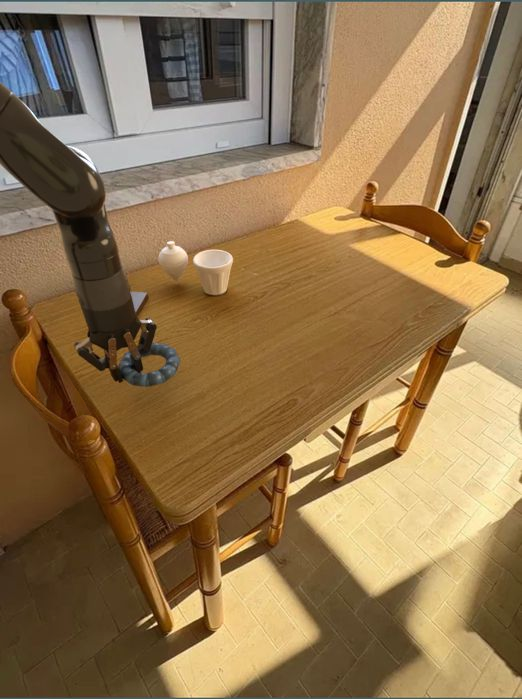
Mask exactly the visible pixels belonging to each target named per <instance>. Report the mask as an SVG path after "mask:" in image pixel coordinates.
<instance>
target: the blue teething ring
mask: <svg viewBox="0 0 522 699" xmlns="http://www.w3.org/2000/svg"><path fill="white" fill-rule="evenodd" d="M130 354H131V353H130V351H129V350H128V351H126V352H125V353H124V354H123V356H122V358H121V359H120V360H119V363H118V366H119V369H120V372H121V375H122V379H123V381H125V382H127V383H128V384H130V385H131V386H133V387H141V388H143V387H145V388H150V387H154V386H157V385H161V384H164V383H166V382H167V381H168V380H170V379H171V378H173V377H174V376H175V375H176V373H177V372H178V369H179V367H180V364H181V359H180V356H179V353H178V351H177V350H176V349H175V348H173V347H171V346H170V345H168V344H166V343H161V342H152V345H151V349H150V352H149V353H147V354H145V353H144V354H143V355H142V356H141V359H142V358H145V357H149V356H159V357H162V358H163V359H165V364H164V366H162V367H161V368H159V369H158V370H155V371H151V372H141V373H139V372H137V371H135V370H134V369H133V366H132V362H131V359H130Z"/></svg>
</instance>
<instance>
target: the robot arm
mask: <svg viewBox="0 0 522 699" xmlns="http://www.w3.org/2000/svg"><path fill="white" fill-rule="evenodd" d="M0 166H1V167H2V168H3V169H4V170H5V171H6V172H8V173H9V174H10V175H11V177H13V178H14V179H15V180H16V181H17V182H18V183H20V184H21V185H22V186H23V187H24V188H25V189H26V190H27V191H28V192H30V193H31V194H32V195H33V196H34V197H35V198H37V199H38V201H40V202H41V203H43V204H44V205H45V206H47V207H48V208H50V209H51V210H52V213H53V215H54V218H55V220H56V224H57V226H58V229H59V232H60V237H61V238H60V239H61V244H62V245H61V246H62V249H63V252H64V256H65V259H66V262H67V265H68V268H69V270H70V273H71V277H72V282H73V287H74V288H73V289H74V292H75V294H76V297H77V299H78V302H79V305H80V309H81V311H82V314H83V317H84V320H85V323H86V326H87V329H88V330H87V335H86V338H85V339H83V341H76V342H75V343H74V344H73V347H74V349H75V351H76V352H77V355H78V356H79V357H80V358H82V359H83V360H85V361H86V362H87V363H88V364H90V365H91V366H92V367H94V368H95V369H96V370H98V371H100V372H104V371H105V370H106V369H108V371H109V373H110V376H111V378H112V379H113V381H114V382H118V383H119V384H122V383H123V382H124V379H122V375H121V372H120V369H119V364H118V362H117V359H118V352H117V351H119V350H121V349H124V348H125V349H126V348H127V350H128V351H130V353H131V354H130V359H131V362H132V366H133V369H134V370H135V371H137V372H139V373H142V372H143V371H144V366H143V361H142V358H141V356H142V355H143V354H144V353H145V354H147V353H149V352H150V349H151V345H152V343H154V342H153V341H154V338H155V334H156V332H157V328H158V326H157V324H156V323H155V322H154V321H153V319H152V318H151V317H146V318H145V319H140V318H139V317H138V316H136V313H135V308H134V304H133V300H132V296H131V292H132V291H131V290H132V288H131V284H130V283H129V280H128V277H127V274H126V271H125V269H124V266H123V262H122V258H121V254H120V250H119V245H118V243H117V242H118V241H117V240H116V239H117V238H116V237H115V236H116V235H115V234H114V231H113V229H112V227H111V225H110V222H109V218H108V213H107V209H106V205H105V203H106V197H107V193H106V192H107V191H106V190H107V189H106V186H105V182H104V180H103V177H102V175H101V173H100V171H99V170H98V168H97V166H96V164H95V163H94V161H93V160H92V159H91V158H90V157H89V156H88V155H87V154H86V153H85V152H84V151H82V150H80V149H78V148H76V147H73V146H70V145H66V144H65V143H64V142H63V141H61V139H59V138H58V137H57V136H56V135H55V134H53V132H51V131H50V130H49V129H47V127H45V126H44V125H43V124H42V123H41V122H40V121H39V119H37V117H36V115H35V113H33V112H32V110H31V109H30V108H29V106H27V105H26V104H25V103H24V102H23V101H22V100H21V99H20V97H18V96H17V95H16V94H14V93H13V92H12V91H11V90H10V89H9V88H8V87H7V86H6V85H5V84H3V83H2V82H1V81H0ZM140 330H141V331H140ZM139 331H140V332H141V333H140V336H139V339H138V343H137V344H136V342H135V339H136V337H137V336H138V333H139ZM92 345H95V346H97V347H98V348H101V349H102V350H103V352H104V357H102V358H101V357H100V356H99V355H98V354H96V353H95V352H94V348H93V346H92Z"/></svg>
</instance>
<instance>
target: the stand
mask: <svg viewBox="0 0 522 699" xmlns="http://www.w3.org/2000/svg"><path fill="white" fill-rule="evenodd" d="M130 292H131V296H132V300H133V304H134V308H135V313H136V316H137V317H138V316H139V315H140V313H141V311H142V310H143V308H144V306H145V304H146V303H147V301H148V300H149V293H148V292H143V291H130Z"/></svg>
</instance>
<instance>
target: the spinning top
mask: <svg viewBox="0 0 522 699" xmlns="http://www.w3.org/2000/svg"><path fill="white" fill-rule="evenodd" d="M157 261H158V264H159V266H160V268H161V270H162V271H163V272H164V273H165V274H166V275H167V276H168V277H169V278H171V279H172V280H173V281H175V283H176V285H178V281H179V280H180V279H181V278H182V276H183V274H184V273H185V272H186V270H187V267H188V265H189V264H188V263H189V257H188V253H187V252H186V251H185V249H183V248H182V247H181V246H179V245H176V243H175V241H173V240H169V241H167V242H166V246H165V247H162V249H161V251H160V252H159V253H158V257H157Z"/></svg>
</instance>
